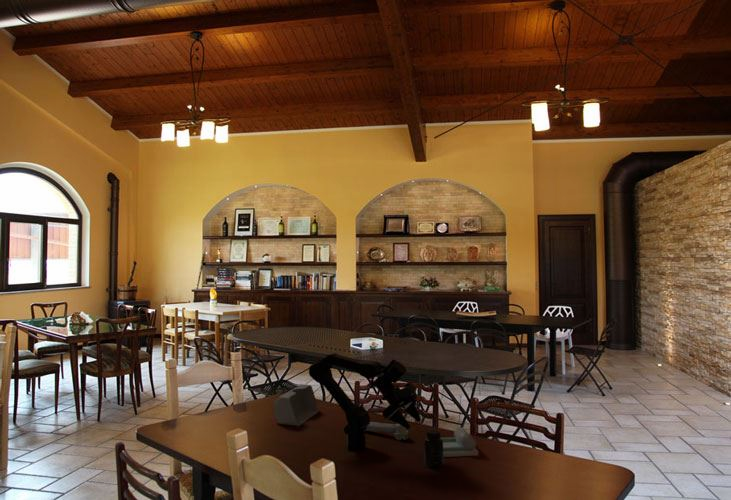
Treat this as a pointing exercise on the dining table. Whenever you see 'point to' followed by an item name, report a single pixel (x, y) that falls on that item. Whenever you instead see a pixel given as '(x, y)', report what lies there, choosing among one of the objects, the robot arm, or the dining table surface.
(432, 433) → the supplement bottle
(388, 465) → the dining table surface
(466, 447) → the motor mount
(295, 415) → the grey faceted block
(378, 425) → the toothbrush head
